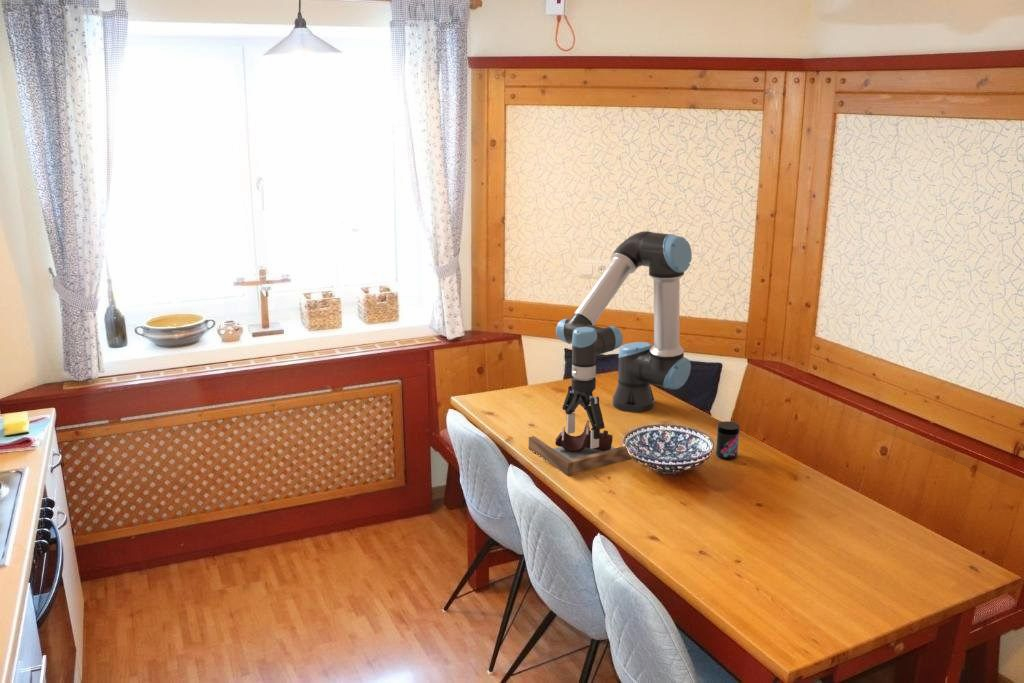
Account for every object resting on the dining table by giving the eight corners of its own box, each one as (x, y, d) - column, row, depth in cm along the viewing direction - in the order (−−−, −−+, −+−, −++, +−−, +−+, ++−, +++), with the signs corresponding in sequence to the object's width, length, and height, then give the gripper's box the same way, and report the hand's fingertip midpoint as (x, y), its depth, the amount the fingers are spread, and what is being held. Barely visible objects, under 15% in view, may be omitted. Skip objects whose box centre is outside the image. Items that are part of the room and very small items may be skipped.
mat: (598, 438, 285) (598, 437, 285) (617, 450, 276) (617, 449, 276) (546, 451, 275) (546, 450, 275) (565, 463, 266) (565, 462, 266)
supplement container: (714, 459, 269) (716, 428, 266) (716, 450, 275) (718, 420, 272) (737, 461, 267) (739, 430, 264) (737, 453, 273) (740, 422, 270)
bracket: (555, 436, 279) (561, 415, 272) (606, 447, 279) (614, 425, 273) (554, 450, 274) (560, 428, 268) (606, 461, 274) (614, 439, 268)
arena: (590, 434, 289) (590, 423, 287) (632, 459, 269) (632, 447, 268) (528, 448, 277) (528, 437, 276) (567, 475, 258) (567, 463, 257)
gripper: (552, 367, 277) (551, 429, 283) (596, 390, 256) (595, 456, 262) (571, 364, 281) (571, 424, 287) (617, 386, 260) (615, 451, 266)
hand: (582, 440), depth 274 cm, fingers open, 13 cm apart
